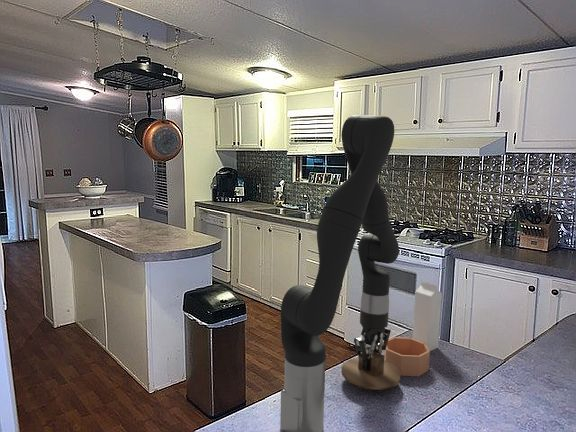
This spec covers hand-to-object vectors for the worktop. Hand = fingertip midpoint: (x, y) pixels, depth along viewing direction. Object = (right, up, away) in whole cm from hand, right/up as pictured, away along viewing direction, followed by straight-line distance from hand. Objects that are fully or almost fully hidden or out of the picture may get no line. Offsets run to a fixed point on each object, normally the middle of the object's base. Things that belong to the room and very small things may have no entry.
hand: (370, 367), depth 118 cm
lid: (0, -2, 0) cm, 2 cm away
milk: (+23, -2, +24) cm, 33 cm away
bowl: (+12, -3, +11) cm, 17 cm away
